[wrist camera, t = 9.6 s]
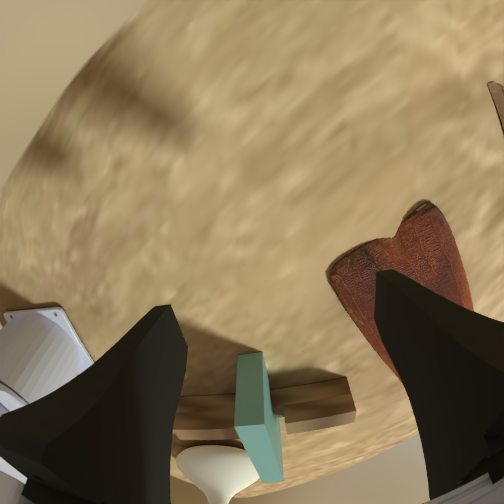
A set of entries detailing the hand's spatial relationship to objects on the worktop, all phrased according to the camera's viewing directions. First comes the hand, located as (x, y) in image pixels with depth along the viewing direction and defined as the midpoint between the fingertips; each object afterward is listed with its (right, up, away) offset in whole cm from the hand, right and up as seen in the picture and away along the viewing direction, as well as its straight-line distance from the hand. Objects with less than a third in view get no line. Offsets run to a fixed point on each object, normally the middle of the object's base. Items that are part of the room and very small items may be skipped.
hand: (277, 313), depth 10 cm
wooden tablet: (+16, -6, +14) cm, 22 cm away
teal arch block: (0, -11, +16) cm, 20 cm away
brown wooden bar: (0, -11, +16) cm, 20 cm away
